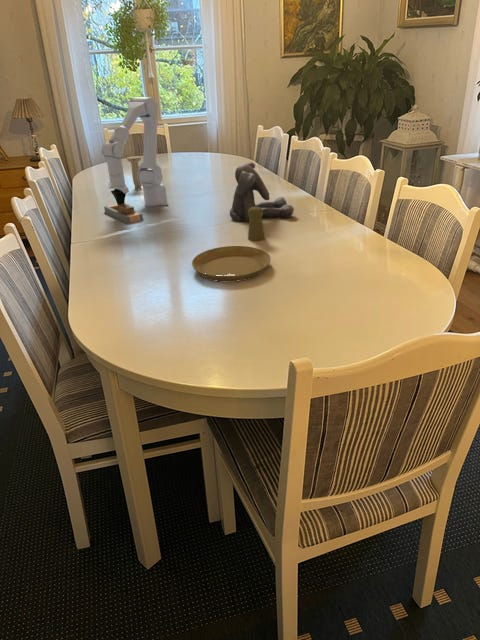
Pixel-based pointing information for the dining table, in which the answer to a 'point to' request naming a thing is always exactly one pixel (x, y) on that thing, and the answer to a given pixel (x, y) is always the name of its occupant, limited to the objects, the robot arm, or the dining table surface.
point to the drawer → (126, 209)
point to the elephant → (245, 196)
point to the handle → (135, 170)
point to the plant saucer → (231, 263)
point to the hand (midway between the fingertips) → (121, 207)
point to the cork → (255, 224)
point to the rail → (114, 212)
